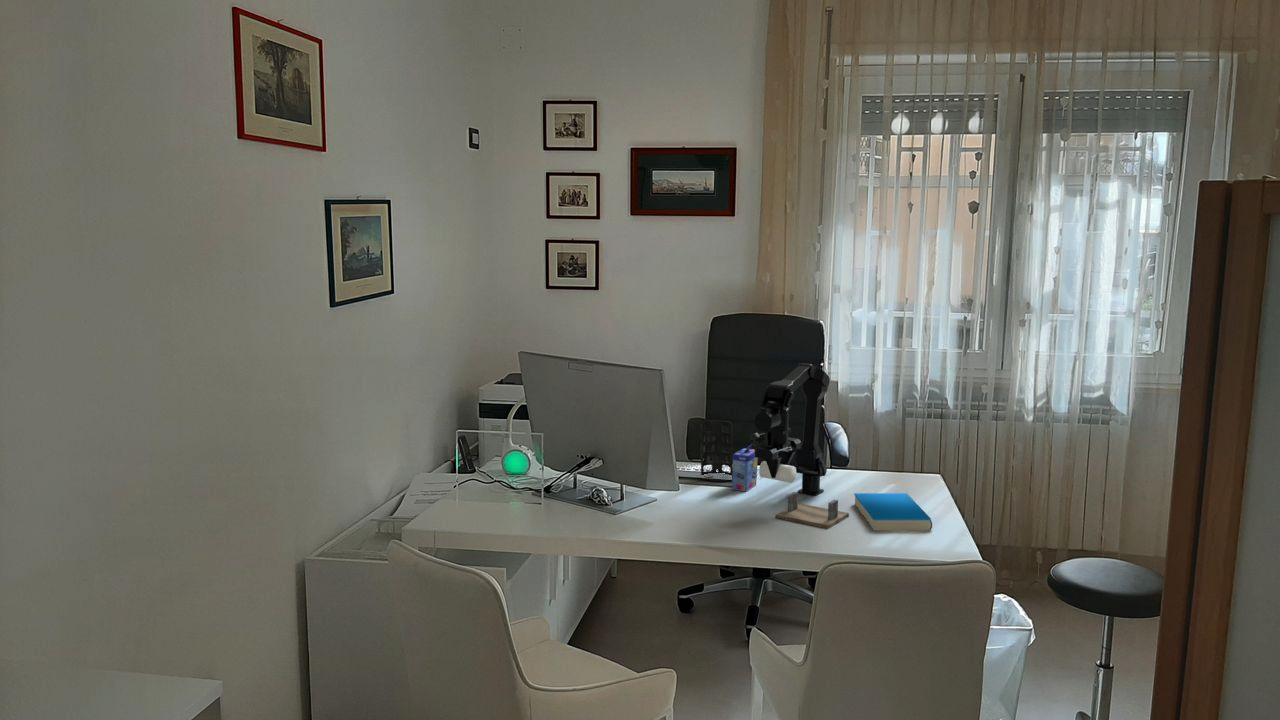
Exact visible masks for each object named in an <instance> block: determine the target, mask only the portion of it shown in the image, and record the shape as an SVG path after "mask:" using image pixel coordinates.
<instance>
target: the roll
mask: <svg viewBox="0 0 1280 720" xmlns="http://www.w3.org/2000/svg"><path fill="white" fill-rule="evenodd" d="M758 474H759V477H761V478H763V479H770V480H774V481H779V482H780V481H781V482H784V483H789V484H792V483H794V482H795V480H796V477H797V473H796V467H795V466H794V465H790V464H789V465H784V464H779V468H778V471H777V474H776V477H775V478H772V477H771V474H770V471H769V468H768V465H767V462H766V461H765V460H764V461H761V463H760V465H759V468H758Z"/></svg>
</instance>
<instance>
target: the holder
mask: <svg viewBox="0 0 1280 720" xmlns="http://www.w3.org/2000/svg"><path fill="white" fill-rule="evenodd" d="M710 425H711V430H710V431H704V426H710ZM699 426H700V430H699V431H700V476H701V475H704V474H708V473H725V474H729V475H733V423H732V422H730V421H726V420H703V421H701V422H700V425H699ZM724 426H726V427H729V428H728V429H729V432H727V431H724V430H723V427H724ZM710 436H711V439H710ZM723 436H724V437H723ZM704 437H706V441H704ZM723 438H724V440H723ZM728 438H729V441H728ZM705 446H711V450H709V451H708V450H707V451H704V447H705ZM724 446H725V447H728V448H729V452H727V451H725V450H723V447H724ZM705 456H706V461H705V460H704V458H705ZM710 456H711V460H710ZM723 456H724V460H723ZM728 458H729V461H728ZM705 466H711V470H708V471H707V470H706V471H704V468H705ZM723 466H727V467H729V470H730V472H729V471H724V470H723ZM708 480H709V482H716V483H717V482H720V481H722V480H721V479H708ZM708 480H707V481H708Z"/></svg>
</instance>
